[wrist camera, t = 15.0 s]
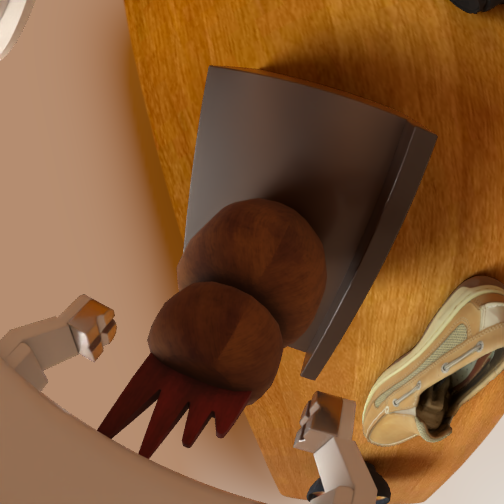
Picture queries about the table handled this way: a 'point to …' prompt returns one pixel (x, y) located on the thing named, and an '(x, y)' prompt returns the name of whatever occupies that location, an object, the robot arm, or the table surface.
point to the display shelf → (311, 177)
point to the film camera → (476, 5)
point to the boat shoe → (440, 368)
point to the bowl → (379, 482)
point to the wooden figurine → (226, 321)
